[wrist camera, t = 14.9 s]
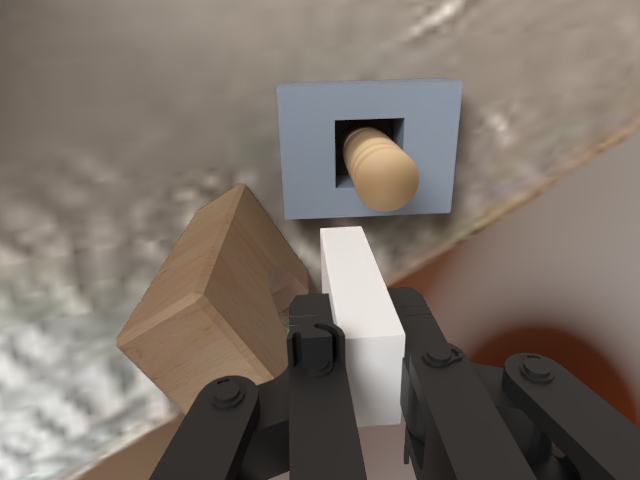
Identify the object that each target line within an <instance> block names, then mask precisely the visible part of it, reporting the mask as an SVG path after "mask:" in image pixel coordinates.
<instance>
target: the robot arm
mask: <svg viewBox="0 0 640 480" xmlns="http://www.w3.org/2000/svg"><path fill="white" fill-rule="evenodd" d="M320 241H321V269H322V294H308V295H296V296H295V298H294V299H293V300H292V302H291V303H290V305H289V317H290V318H289V323H290V332H289V333H288V336H287V339H286V342H287V355H288V366H287V368H286V369H285V371H284V372H283V373H282V374H281V375H279V376H278V377H276V378H274V379H272V380H270V381H268V382H265V383H262V384H259V385H256V384H255V383H254V382H253V381H252V380H250V379H249V378H247V377H243V376H239V375H231V376H224V377H221V378H217V379H215V380H213V381H212V382H210V383H208V384H207V385H205V386H204V388H203V389H202V390H201V391H200V392H199V394H198V395H197V397H196V399H195V401H194V402H193V404H192V406H191V407H190V409H189V411H188V413H187V414H186V416H185V418H184V420H183V421H182V423H181V425H180V427H179V429H178V430H177V432H176V434H175V435H174V437H173V439H172V440H171V442H170V444H169V446H168V448H167V449H166V451H165V453H164V454H163V456H162V458H161V459H160V461H159V463H158V465H157V467H156V468H155V470H154V472H153V473H152V475H151V477H150V479H149V480H268V479H270V478H273V477H275V476H278V475H280V474H282V473H285V472H288V471H290V480H367V477H366V472H365V466H364V462H363V456H362V450H361V445H360V439H359V434H358V429H357V427H368V426H381V425H394V424H400V423H401V409H402V412H403V415H404V418H405V422H406V429H405V445H404V464H409V455H410V458H411V461H412V465H413V468H414V472H415V475H416V478H417V480H640V429H639V428H638V427H637V426H635V425H634V424H633V423H632V422H630V421H629V420H628V419H627V418H626V417H624V416H623V415H622V414H621V413H619V412H618V411H617V410H616V409H614V408H613V407H612V406H611V405H609V404H608V403H607V402H605V401H604V400H603V399H602V398H601V397H600V396H598V395H597V394H596V393H595V392H593V391H592V390H591V389H590V388H588V387H587V386H586V385H585V384H583V383H582V382H581V381H580V380H578V379H577V378H576V377H575V376H573V375H572V374H571V373H570V372H569V371H567V370H566V369H565V368H564V367H562V366H561V365H560V364H558V363H557V362H555V361H553V360H552V359H550V358H547V357H544V356H541V355H539V354H533V353H518V354H514V355H512V356H510V357H508V359H507V360H506V362H505V364H504V368H500V367H494V366H487V365H482V364H477V363H473V362H470V361H469V359H468V358H467V356H466V355H465V354H464V352H462V350H461V349H459V348H458V347H456V346H454V345H452V344H450V343H447V341H446V339H445V338H444V335H443V333H442V332H441V330H440V328H439V326H438V324H437V322H436V320H435V319H434V317H433V315H432V313H431V311H430V309H429V307H427V304H426V302H425V300H424V298H423V296H422V295H421V294H420V293H418V292H417V291H416V290H414V289H413V288H411V287H400V288H386V286H385V283H384V281H383V278H382V276H381V273H380V271H379V269H378V266H377V264H376V261H375V259H374V256H373V254H372V251H371V249H370V246H369V244H368V242H367V239H366V237H365V234H364V232H363V229H362V227H361V226H355V227H337V228H320ZM554 444H556V446H557V447H559V449H560V450H561V451H562V452H563V453H564V454H563V453H562V452H561V451H559V450H558V449H557V448H556V447H555V446H554Z"/></svg>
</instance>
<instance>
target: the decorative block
mask: <svg viewBox="0 0 640 480" xmlns="http://www.w3.org/2000/svg"><path fill="white" fill-rule="evenodd" d="M308 293H309V289H308V271H307V269H306V268H305V267H304V265H303V264H302V262H301V261H300V260H299V258H298V257H297V256H296V254H295V253H294V251H293V250H292V249H291V247H290V246H289V244H288V243H287V242H286V240H285V239H284V237H283V236H282V235H281V233H280V232H279V230H278V229H277V228H276V226H275V225H274V223H273V222H272V221H271V219H270V218H269V217H268V215H267V214H266V212H265V211H264V210H263V208H262V207H261V205H260V204H259V203H258V201H257V200H256V199H255V197H254V196H253V194H252V193H251V192H250V190H249V189H248V187H247V186H246V185H244V184H239V185H237V186H235V187H234V188H232V189H231V190H229V191H228V192H226V193H224V194H223V195H221V196H220V197H218V198H217V199H215V200H214V201H212V202H210V203H209V204H207V205H206V206H204V207H203V208H201V209H199V210H198V211H197V212H196V213H195V215H194V217H193V218H192V220H191V221H190V223H189V225H188V226H187V228H186V229H185V231H184V233H183V234H182V236H181V237H180V239H179V240H178V242H177V244H176V245H175V247H174V248H173V250H172V252H171V253H170V255H169V256H168V258H167V259H166V261H165V263H164V264H163V266H162V267H161V269H160V271H159V272H158V274H157V276H156V277H155V279H154V280H153V282H152V284H151V285H150V287H149V288H148V290H147V292H146V293H145V295H144V296H143V298H142V299H141V301H140V303H139V304H138V306H137V307H136V309H135V310H134V312H133V314H132V315H131V317H130V318H129V320H128V322H127V323H126V325H125V326H124V328H123V329H122V331H121V333H120V334H119V336H118V337H117V347H118V348H119V349H120V350H121V351H122V352H123V353H124V354H125V355H126V356H127V357H128V358H129V359H130V360H131V361H132V362H133V363H134V364H135V365H136V366H137V367H138V368H139V369H140V370H141V371H142V372H143V373H144V374H145V375H146V376H147V377H148V378H149V379H150V380H151V381H152V382H153V383H154V384H155V385H156V386H157V387H158V388H159V389H160V390H161V391H162V392H163V393H164V394H165V395H166V396H167V397H168V398H169V399H170V400H171V401H172V402H173V403H174V404H175V405H176V406H177V407H178V408H179V409H180V410H181V411H182V412H183V413H184V414H185V415H186V414H187V413H188V411H189V409H190V407H191V406H192V404H193V402H194V401H195V399H196V397H197V395H198V394H199V392H200V391H201V390H202V389H203V388H204V386H205V385H207V384H208V383H210V382H212V381H213V380H215V379H217V378H221V377H224V376H231V375H239V376H243V377H247V378H249V379H250V380H252V381H253V382H254V383H255V384H256V385H259V384H262V383H265V382H268V381H270V380H272V379H274V378H276V377H278V376H279V375H281V374H282V373H283V372H284V371H285V369H286V368H287V366H288V355H287V342H286V339H287V336H288V335H287V333H286V330H285V328H284V326H283V324H282V322H281V320H280V318H279V315H278V313H280V312H282V311H284V310H285V309H287V308H289V305H290V303H291V302H292V300H293V299H294V298H295V296H296V295H308Z"/></svg>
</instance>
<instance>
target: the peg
mask: <svg viewBox="0 0 640 480" xmlns="http://www.w3.org/2000/svg"><path fill="white" fill-rule="evenodd" d="M341 151H342V154H343V156H344V162H345V165H346V167H347V170H348V172H349V174H350V177H351V179H352V182H353V184H354V186H355V189H356V191H357V193H358V195H359V197H360V199H361V200H362V202H363V203H364V204H365V205H367V206H368V207H370V208H371V209H374V210H377V211H382V212H388V211H394V210H397V209H399V208H401V207H403V206H404V205H406V204H407V203H408V202H409V201H410V200H411V199H412V198H413V196H414V195H415V193H416V191H417V188H418V184H419V173H418V169H417V166H416V164H415V163H414V161H413V160H412V159H411V158H410V157H409V156H408V155H407V154H406V153H405V152H404V151H403V150H402V149H401V148H400V147H398V146H397V145H396V144H395V143H394V142H393V141H392V140H391V139H390V138H389V137H388V136H387V135H386V134H384V133H383V132H381V131H379V130H378V129H377V128H375V127H374V126H373V125H370V124H367V123H358V124H355V125H353V126H351V127H350V128H348V129H347V130H346V132H345V133H344V135H343V137H342V140H341Z"/></svg>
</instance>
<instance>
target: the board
mask: <svg viewBox="0 0 640 480" xmlns="http://www.w3.org/2000/svg"><path fill="white" fill-rule="evenodd" d="M462 86H463V81H460V80H454V79H449V78H434V79H402V80H370V81H338V82H306V83H278V85H277V87H276V90H277V106H278V122H279V138H280V155H281V171H282V187H283V203H284V219H285V220H291V219H316V218H340V217H364V216H388V215H412V214H436V213H451V202H452V192H453V181H454V171H455V160H456V150H457V139H458V129H459V118H460V108H461V97H462ZM386 118H394V127H393V142H394V143H395V144H396V145H397V146H398V147H400V148H401V149H402V150H403V151H404V152H405V153H406V154H407V155H408V156H409V157H410V158H411V159H412V160H413V161H414V163H415V164H416V166H417V169H418V173H419V184H418V188H417V191H416V193H415V195H414V196H413V198H412V199H411V200H410V201H409V202H408V203H407V204H406V205H404V206H403V207H401V208H399V209H397V210H394V211H388V212H382V211H377V210H374V209H371V208H370V207H368V206H367V205H365V204H364V203H363V202H362V200H361V199H360V197H359V195H358V193H357V191H356V189H355V186H354V184H353V182H352V179H351V177H350V175H335V120H357V119H386Z"/></svg>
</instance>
